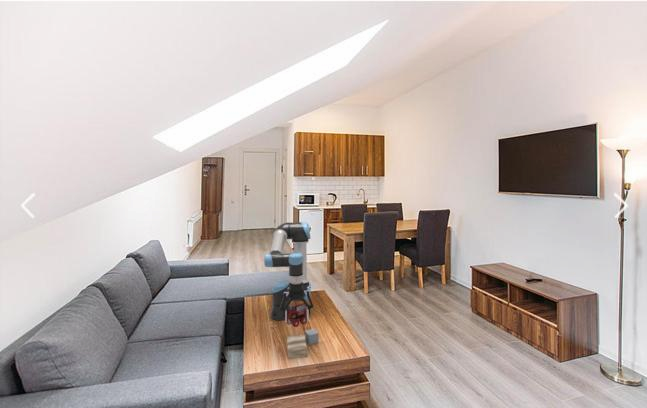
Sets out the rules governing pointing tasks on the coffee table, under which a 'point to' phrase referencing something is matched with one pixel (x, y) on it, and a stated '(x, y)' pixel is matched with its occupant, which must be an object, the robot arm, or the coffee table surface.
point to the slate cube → (311, 336)
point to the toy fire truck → (297, 315)
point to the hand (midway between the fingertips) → (296, 321)
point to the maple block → (296, 346)
